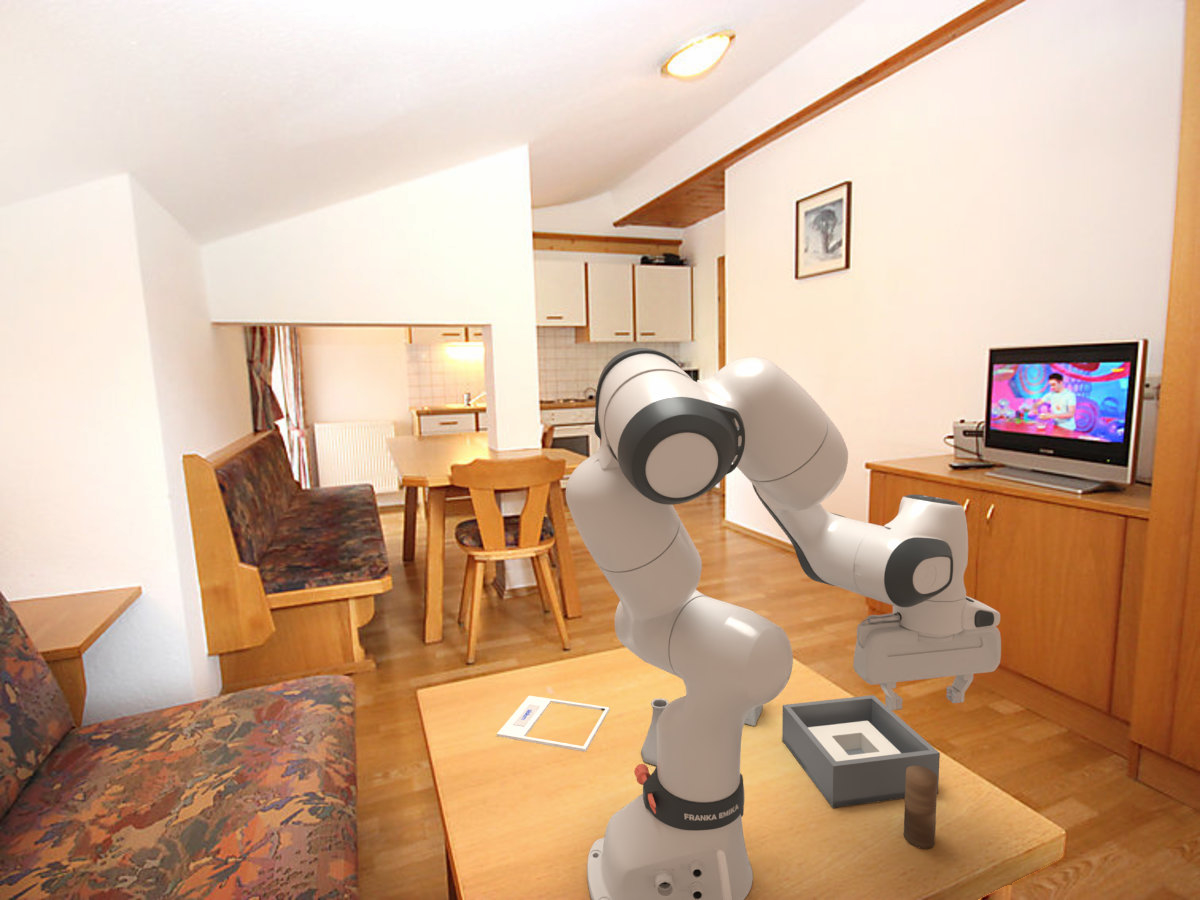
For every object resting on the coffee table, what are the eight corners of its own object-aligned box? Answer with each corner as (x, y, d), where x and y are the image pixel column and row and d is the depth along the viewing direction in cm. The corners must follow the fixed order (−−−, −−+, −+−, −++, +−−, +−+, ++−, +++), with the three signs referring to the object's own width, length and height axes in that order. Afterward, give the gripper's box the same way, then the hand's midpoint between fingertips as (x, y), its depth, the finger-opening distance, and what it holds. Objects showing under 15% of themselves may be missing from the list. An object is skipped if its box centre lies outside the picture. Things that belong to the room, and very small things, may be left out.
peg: (915, 850, 87) (917, 785, 86) (897, 830, 91) (899, 767, 90) (941, 846, 87) (944, 781, 86) (922, 826, 91) (925, 764, 90)
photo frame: (528, 694, 131) (609, 706, 125) (529, 699, 131) (609, 711, 126) (496, 732, 117) (585, 748, 112) (497, 738, 117) (585, 753, 112)
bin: (832, 807, 96) (833, 766, 95) (782, 740, 113) (782, 704, 113) (937, 793, 98) (939, 753, 97) (872, 730, 116) (873, 695, 115)
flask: (679, 770, 106) (678, 715, 105) (638, 765, 107) (636, 712, 106) (682, 745, 113) (681, 693, 112) (643, 741, 114) (642, 690, 113)
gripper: (871, 626, 80) (868, 724, 82) (1011, 612, 83) (1006, 708, 85) (845, 608, 87) (843, 700, 88) (977, 596, 89) (972, 685, 91)
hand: (924, 704), depth 87 cm, fingers open, 8 cm apart
